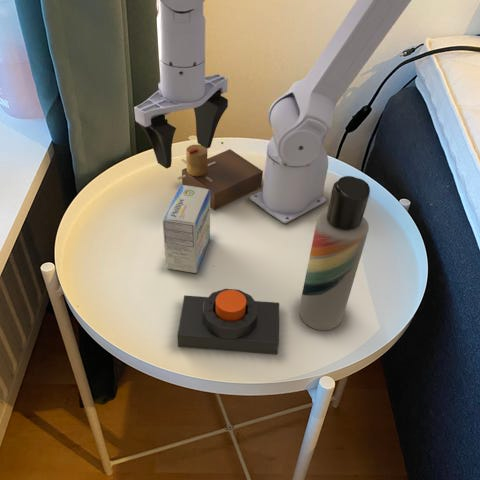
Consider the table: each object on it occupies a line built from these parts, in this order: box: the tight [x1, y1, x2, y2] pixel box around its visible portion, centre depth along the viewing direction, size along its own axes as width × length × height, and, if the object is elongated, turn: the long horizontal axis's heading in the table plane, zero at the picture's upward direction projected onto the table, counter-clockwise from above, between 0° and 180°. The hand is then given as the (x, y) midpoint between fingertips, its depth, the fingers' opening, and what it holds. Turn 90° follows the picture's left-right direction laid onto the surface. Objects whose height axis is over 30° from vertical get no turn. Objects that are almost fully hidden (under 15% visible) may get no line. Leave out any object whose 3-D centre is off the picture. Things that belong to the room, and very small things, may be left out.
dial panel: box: [177, 148, 264, 211], centre depth 87 cm, size 12×10×3 cm
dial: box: [185, 144, 208, 176], centre depth 84 cm, size 3×3×4 cm
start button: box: [215, 290, 246, 322], centre depth 65 cm, size 4×4×2 cm
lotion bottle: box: [298, 175, 371, 331], centre depth 63 cm, size 6×6×20 cm
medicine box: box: [162, 184, 211, 274], centre depth 74 cm, size 8×4×9 cm, turn 168°
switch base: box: [176, 288, 280, 355], centre depth 67 cm, size 12×7×4 cm, turn 87°
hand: (184, 154), depth 78 cm, fingers open, 7 cm apart
